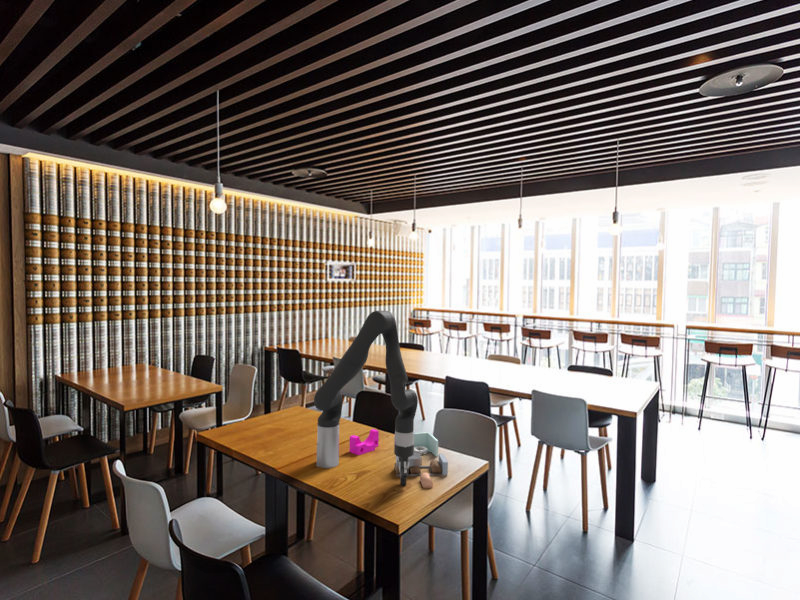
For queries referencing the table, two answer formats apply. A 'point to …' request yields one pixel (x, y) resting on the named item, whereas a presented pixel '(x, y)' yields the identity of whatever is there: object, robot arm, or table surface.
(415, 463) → the slab
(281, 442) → the table surface
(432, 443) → the l-shaped corner panel
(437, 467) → the roller bed
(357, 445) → the magenta curved bracket
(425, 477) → the roller
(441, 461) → the stop gate
